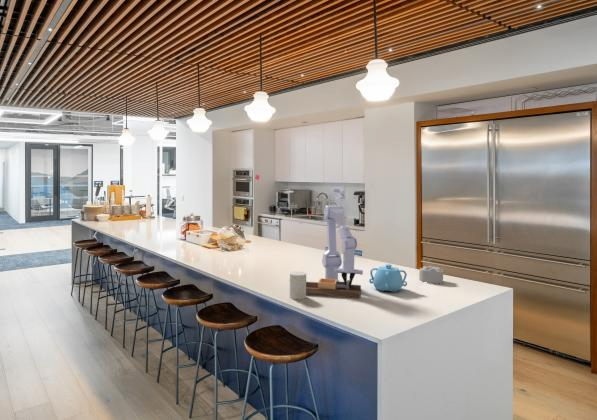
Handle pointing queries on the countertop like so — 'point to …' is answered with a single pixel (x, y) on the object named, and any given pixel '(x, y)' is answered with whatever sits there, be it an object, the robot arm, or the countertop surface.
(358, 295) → the bay
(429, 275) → the lumpy-topped squat cylinder
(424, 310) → the countertop surface
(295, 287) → the cup
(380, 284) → the decorative pot
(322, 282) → the drawer
